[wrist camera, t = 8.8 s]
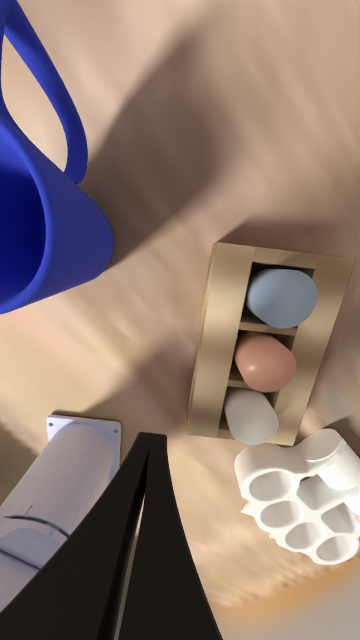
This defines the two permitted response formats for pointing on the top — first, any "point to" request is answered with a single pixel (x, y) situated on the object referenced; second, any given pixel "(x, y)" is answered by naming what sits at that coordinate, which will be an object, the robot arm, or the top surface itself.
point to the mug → (44, 191)
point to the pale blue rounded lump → (281, 297)
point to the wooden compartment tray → (226, 318)
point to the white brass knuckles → (305, 494)
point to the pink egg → (263, 361)
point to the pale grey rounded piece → (249, 415)
